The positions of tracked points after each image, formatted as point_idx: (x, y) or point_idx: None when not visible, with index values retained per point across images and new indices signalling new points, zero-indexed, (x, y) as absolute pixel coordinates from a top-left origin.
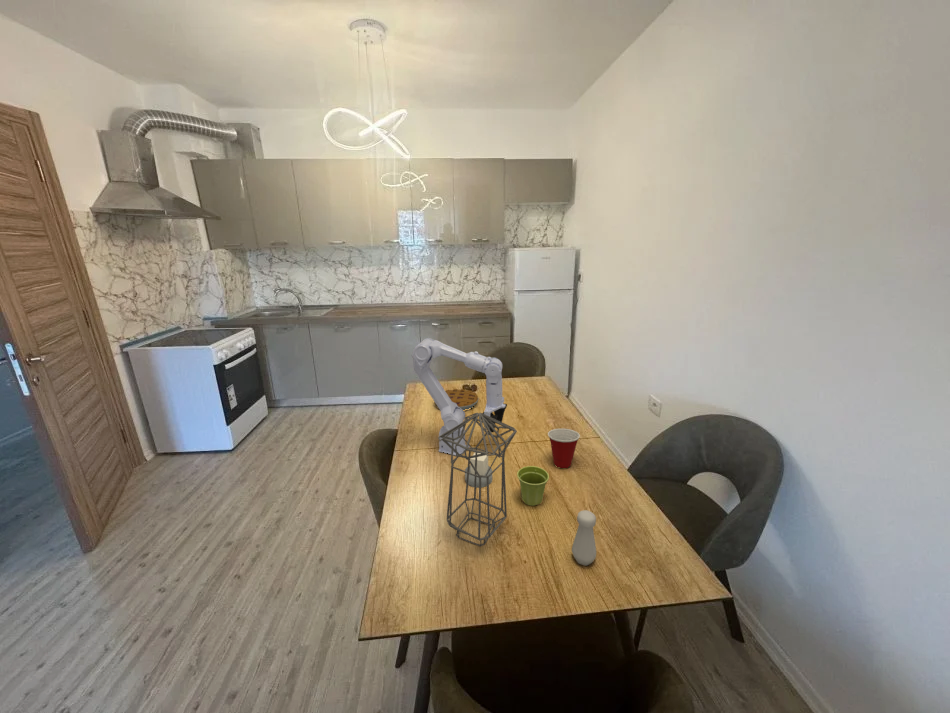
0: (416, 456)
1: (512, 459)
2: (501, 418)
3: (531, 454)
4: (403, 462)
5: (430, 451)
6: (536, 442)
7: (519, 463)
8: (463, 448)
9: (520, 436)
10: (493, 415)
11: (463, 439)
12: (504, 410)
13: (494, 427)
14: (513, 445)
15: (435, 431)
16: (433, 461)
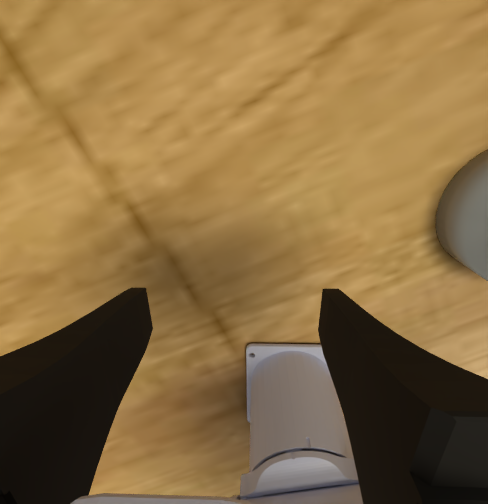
0: None
1: (273, 113)
2: (120, 314)
3: (169, 12)
4: None
5: None
6: (14, 33)
7: (300, 53)
8: (301, 360)
9: (16, 161)
10: (469, 475)
11: (306, 398)
12: (18, 360)
13: (352, 308)
14: (130, 164)
15: (194, 474)
16: None
